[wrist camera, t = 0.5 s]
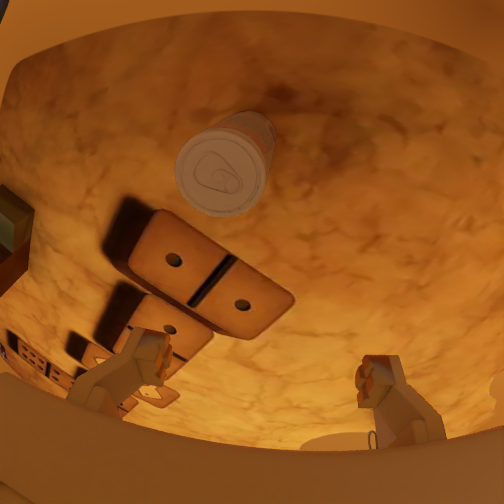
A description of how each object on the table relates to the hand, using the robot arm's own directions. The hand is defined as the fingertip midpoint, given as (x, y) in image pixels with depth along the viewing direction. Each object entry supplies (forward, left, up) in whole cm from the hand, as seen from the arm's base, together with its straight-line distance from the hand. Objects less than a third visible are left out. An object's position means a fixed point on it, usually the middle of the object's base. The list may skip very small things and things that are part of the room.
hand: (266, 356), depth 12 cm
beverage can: (-5, -3, -24) cm, 24 cm away
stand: (+2, -45, -24) cm, 51 cm away
